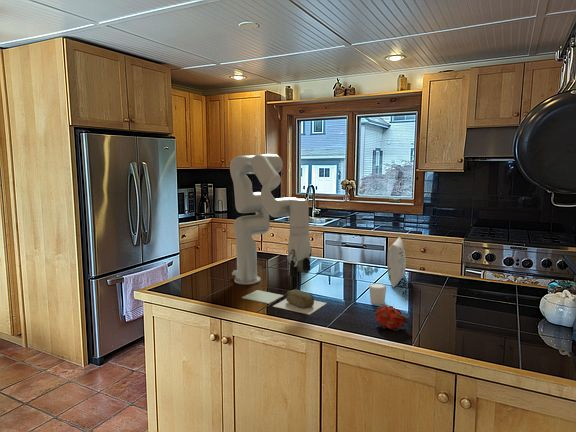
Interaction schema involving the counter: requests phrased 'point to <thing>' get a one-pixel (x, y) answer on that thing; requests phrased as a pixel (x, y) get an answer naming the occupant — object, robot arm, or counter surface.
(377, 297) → the white cylinder
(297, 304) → the stone block
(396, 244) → the pouch
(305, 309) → the tile
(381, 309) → the dragon fruit
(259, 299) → the pale green pad
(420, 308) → the counter surface
